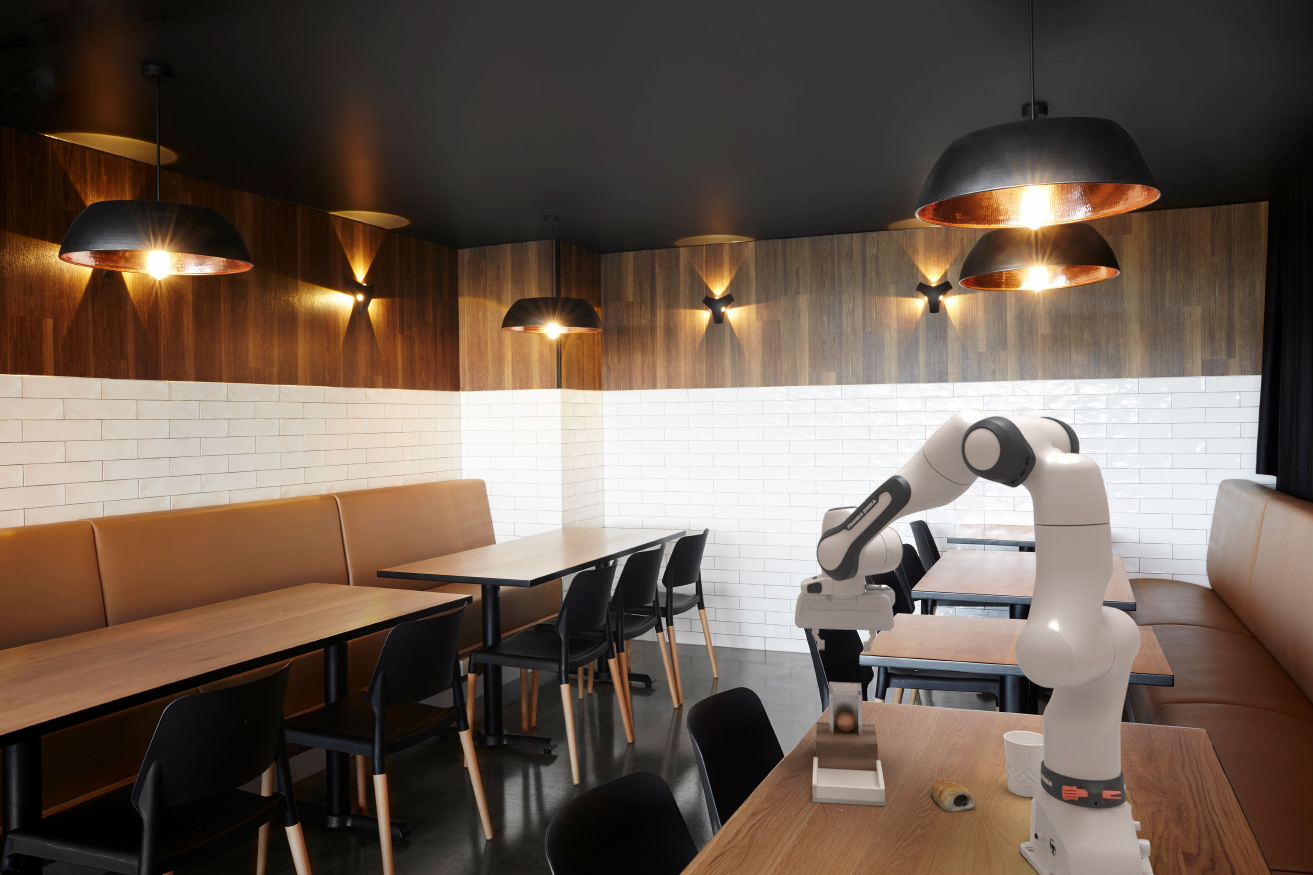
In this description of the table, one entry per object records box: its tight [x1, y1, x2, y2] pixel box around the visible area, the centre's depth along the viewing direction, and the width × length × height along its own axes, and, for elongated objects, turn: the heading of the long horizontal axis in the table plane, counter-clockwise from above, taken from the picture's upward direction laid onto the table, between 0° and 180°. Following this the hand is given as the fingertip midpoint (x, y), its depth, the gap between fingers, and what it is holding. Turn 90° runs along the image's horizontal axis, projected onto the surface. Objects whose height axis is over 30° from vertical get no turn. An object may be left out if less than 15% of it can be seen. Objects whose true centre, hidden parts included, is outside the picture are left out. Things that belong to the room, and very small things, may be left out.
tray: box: [811, 756, 886, 807], centre depth 169 cm, size 15×13×3 cm
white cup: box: [1003, 730, 1044, 799], centre depth 166 cm, size 8×8×10 cm
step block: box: [815, 721, 879, 771], centre depth 183 cm, size 12×12×6 cm
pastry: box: [930, 780, 977, 812], centre depth 163 cm, size 9×7×4 cm
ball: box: [836, 712, 856, 732], centre depth 184 cm, size 4×4×4 cm
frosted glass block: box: [828, 681, 863, 735], centre depth 185 cm, size 6×7×9 cm
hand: (844, 650), depth 185 cm, fingers open, 8 cm apart
